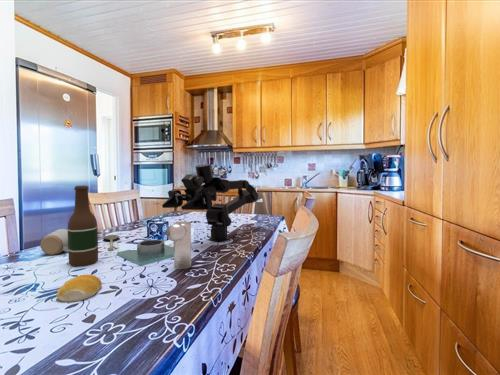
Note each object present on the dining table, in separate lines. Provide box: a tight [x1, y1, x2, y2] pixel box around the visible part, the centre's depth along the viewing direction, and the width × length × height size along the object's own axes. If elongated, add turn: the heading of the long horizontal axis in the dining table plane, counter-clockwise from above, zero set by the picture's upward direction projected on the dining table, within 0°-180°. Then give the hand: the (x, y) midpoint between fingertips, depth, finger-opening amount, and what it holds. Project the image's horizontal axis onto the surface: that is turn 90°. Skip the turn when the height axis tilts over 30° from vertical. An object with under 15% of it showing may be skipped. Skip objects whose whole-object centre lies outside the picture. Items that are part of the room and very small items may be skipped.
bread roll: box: [56, 274, 103, 303], centre depth 62 cm, size 8×9×4 cm
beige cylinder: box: [39, 228, 68, 256], centre depth 94 cm, size 11×8×8 cm
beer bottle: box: [67, 185, 99, 268], centre depth 82 cm, size 8×8×24 cm
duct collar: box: [116, 239, 174, 266], centre depth 91 cm, size 16×16×4 cm
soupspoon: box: [102, 234, 121, 252], centre depth 105 cm, size 22×3×7 cm
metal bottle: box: [166, 221, 192, 270], centre depth 78 cm, size 8×5×13 cm, turn 167°
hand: (172, 207), depth 89 cm, fingers open, 9 cm apart
